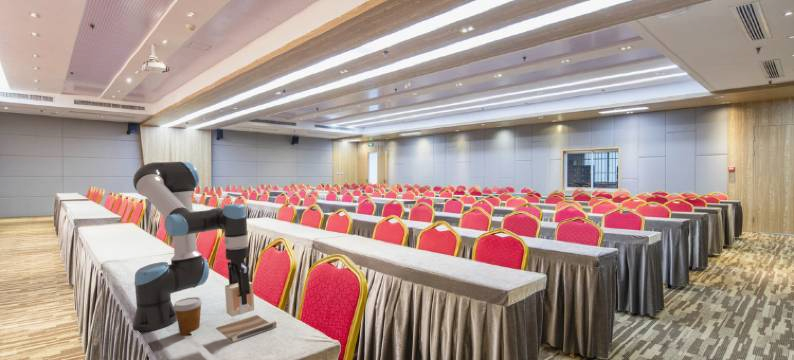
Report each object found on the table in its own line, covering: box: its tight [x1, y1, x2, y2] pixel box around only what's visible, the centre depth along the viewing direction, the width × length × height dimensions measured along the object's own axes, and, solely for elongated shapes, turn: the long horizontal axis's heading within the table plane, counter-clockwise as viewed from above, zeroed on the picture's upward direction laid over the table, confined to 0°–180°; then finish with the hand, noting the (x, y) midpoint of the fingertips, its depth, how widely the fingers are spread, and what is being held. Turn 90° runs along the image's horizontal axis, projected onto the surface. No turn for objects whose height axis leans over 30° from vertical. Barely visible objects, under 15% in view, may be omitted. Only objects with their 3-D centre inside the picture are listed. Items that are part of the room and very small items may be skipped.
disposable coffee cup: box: [173, 296, 203, 337], centre depth 146 cm, size 10×10×12 cm
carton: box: [224, 280, 255, 318], centre depth 140 cm, size 8×5×10 cm, turn 134°
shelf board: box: [215, 314, 278, 343], centre depth 145 cm, size 17×16×4 cm
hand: (240, 310), depth 140 cm, fingers closed on carton, 5 cm apart
